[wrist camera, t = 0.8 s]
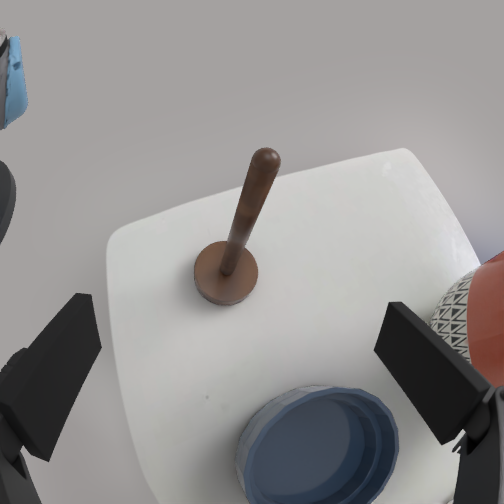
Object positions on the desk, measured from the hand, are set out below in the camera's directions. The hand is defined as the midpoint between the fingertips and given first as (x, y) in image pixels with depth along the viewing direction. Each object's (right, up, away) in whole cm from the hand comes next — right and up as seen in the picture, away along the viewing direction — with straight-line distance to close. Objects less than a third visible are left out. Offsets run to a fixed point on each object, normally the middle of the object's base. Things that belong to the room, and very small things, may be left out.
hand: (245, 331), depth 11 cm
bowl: (+7, -20, +15) cm, 26 cm away
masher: (-3, 0, +21) cm, 22 cm away
